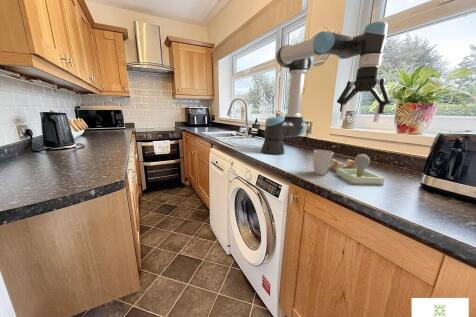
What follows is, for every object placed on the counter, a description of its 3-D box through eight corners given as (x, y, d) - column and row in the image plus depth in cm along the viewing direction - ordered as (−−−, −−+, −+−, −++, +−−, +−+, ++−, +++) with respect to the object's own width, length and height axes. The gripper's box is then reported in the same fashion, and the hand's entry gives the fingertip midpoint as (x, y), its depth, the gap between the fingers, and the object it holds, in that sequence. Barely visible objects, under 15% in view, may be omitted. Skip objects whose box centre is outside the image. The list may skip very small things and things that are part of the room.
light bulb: (354, 179, 78) (358, 155, 76) (349, 175, 83) (353, 152, 81) (369, 180, 77) (374, 156, 75) (363, 176, 82) (367, 153, 80)
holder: (329, 167, 97) (331, 158, 96) (348, 168, 98) (349, 159, 96) (339, 173, 88) (341, 163, 87) (359, 174, 88) (361, 164, 87)
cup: (332, 177, 83) (336, 154, 81) (312, 175, 84) (315, 152, 82) (327, 171, 91) (331, 150, 88) (309, 170, 92) (312, 149, 90)
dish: (336, 174, 86) (337, 168, 86) (363, 175, 87) (364, 169, 86) (352, 184, 75) (353, 177, 74) (383, 185, 75) (384, 178, 74)
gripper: (333, 70, 87) (326, 118, 92) (403, 60, 67) (388, 123, 72) (342, 72, 91) (334, 118, 96) (410, 64, 71) (395, 122, 77)
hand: (357, 120), depth 84 cm, fingers open, 13 cm apart
